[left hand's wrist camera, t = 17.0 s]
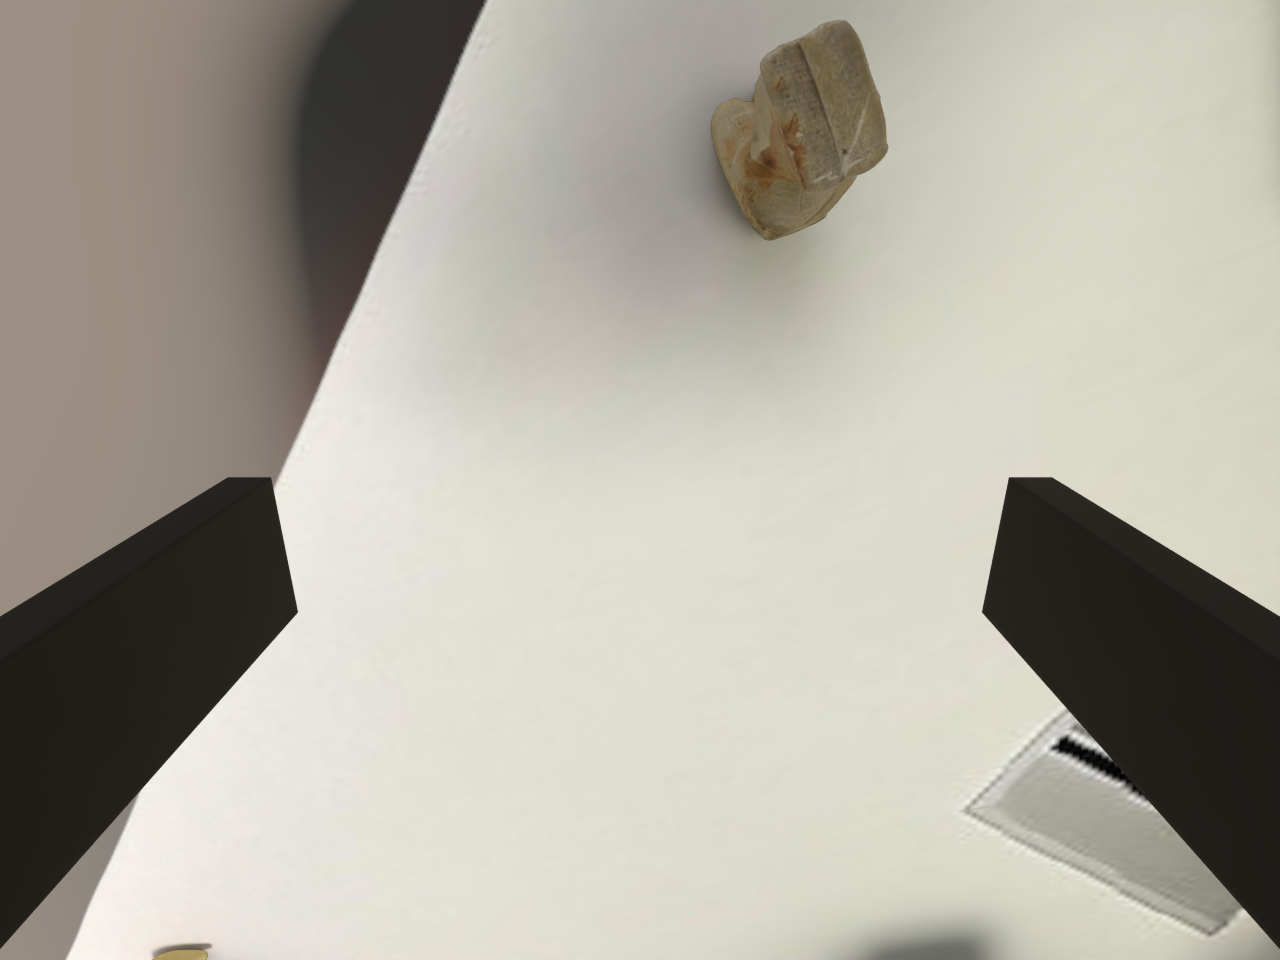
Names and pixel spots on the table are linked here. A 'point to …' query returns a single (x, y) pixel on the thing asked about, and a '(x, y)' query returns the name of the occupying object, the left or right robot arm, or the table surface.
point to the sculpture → (801, 131)
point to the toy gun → (183, 955)
